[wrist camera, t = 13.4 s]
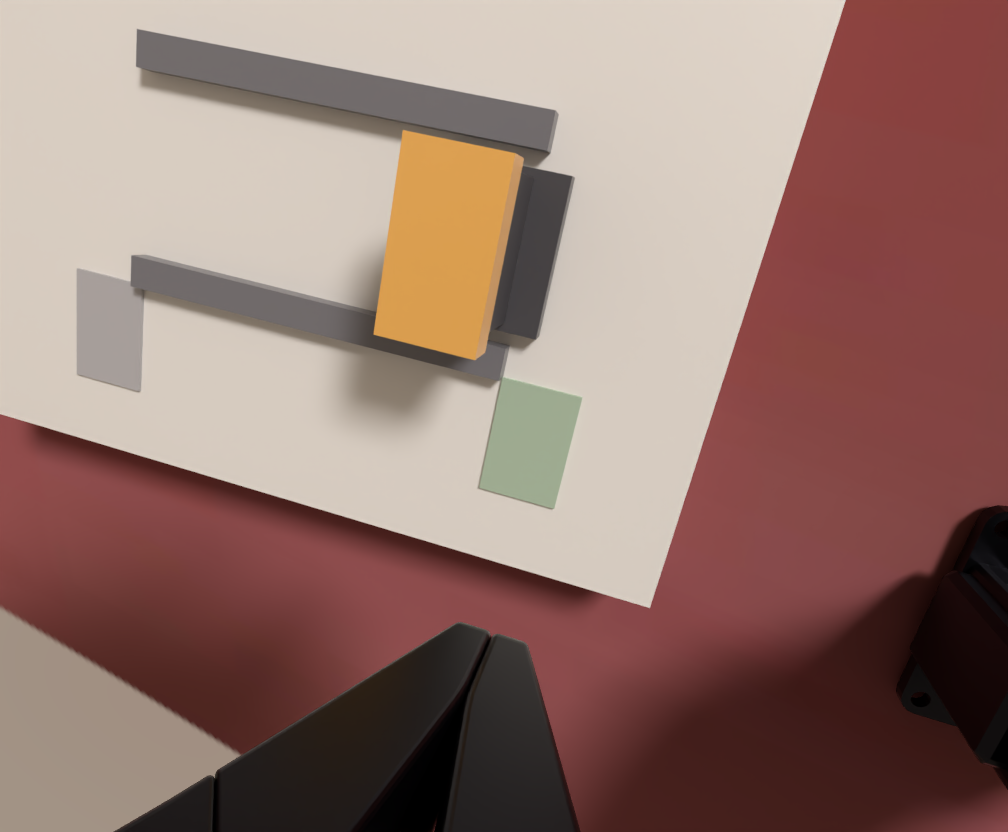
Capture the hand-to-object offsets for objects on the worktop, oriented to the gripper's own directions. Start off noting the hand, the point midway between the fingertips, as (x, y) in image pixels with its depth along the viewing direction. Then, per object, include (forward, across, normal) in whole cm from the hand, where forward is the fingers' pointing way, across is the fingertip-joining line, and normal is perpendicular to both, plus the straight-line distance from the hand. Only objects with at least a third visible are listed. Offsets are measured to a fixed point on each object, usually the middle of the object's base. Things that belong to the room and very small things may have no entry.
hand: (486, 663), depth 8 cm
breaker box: (+12, +7, -4) cm, 14 cm away
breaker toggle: (+9, +3, -4) cm, 10 cm away
